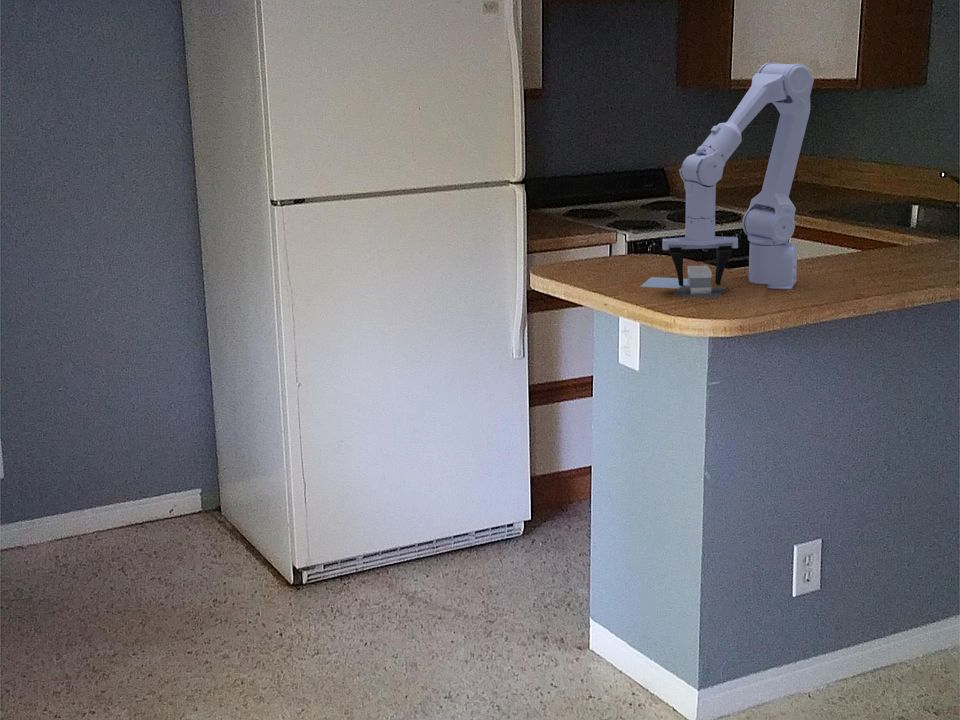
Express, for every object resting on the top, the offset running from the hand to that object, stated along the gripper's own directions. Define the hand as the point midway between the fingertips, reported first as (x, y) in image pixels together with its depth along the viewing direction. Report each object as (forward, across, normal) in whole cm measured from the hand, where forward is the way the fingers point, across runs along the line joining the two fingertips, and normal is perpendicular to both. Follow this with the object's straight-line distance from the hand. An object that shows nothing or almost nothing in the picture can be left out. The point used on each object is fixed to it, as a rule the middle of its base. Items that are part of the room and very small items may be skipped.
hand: (699, 284), depth 239 cm
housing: (+1, 0, 0) cm, 1 cm away
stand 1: (+2, +6, -8) cm, 10 cm away
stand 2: (+2, 0, 0) cm, 2 cm away
